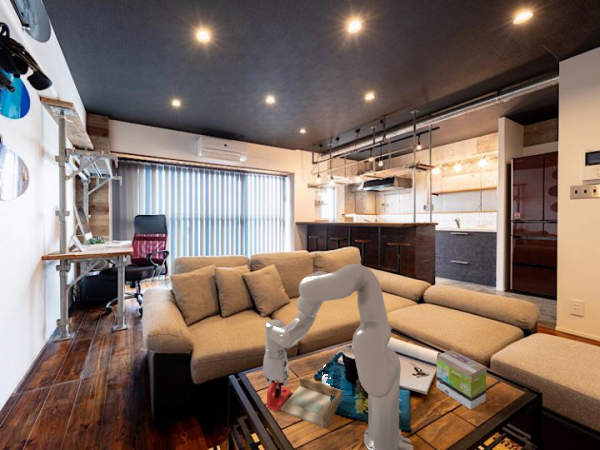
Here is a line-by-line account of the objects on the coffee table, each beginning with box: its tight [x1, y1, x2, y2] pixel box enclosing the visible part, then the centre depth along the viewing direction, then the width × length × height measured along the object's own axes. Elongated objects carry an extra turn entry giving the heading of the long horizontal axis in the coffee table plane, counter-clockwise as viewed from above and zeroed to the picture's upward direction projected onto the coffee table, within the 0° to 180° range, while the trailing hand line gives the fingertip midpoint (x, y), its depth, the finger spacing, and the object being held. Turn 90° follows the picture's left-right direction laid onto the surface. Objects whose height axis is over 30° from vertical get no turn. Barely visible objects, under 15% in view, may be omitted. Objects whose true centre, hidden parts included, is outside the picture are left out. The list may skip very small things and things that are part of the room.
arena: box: [280, 376, 343, 430], centre depth 109 cm, size 19×16×4 cm
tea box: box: [436, 349, 488, 411], centre depth 113 cm, size 15×10×15 cm
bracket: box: [266, 381, 291, 412], centre depth 112 cm, size 12×4×8 cm, turn 156°
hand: (276, 394), depth 113 cm, fingers closed on bracket, 1 cm apart
